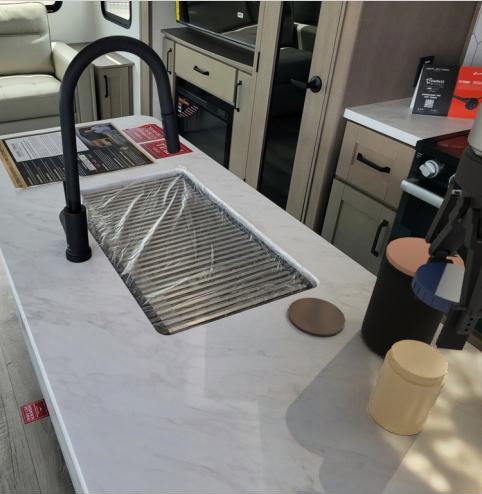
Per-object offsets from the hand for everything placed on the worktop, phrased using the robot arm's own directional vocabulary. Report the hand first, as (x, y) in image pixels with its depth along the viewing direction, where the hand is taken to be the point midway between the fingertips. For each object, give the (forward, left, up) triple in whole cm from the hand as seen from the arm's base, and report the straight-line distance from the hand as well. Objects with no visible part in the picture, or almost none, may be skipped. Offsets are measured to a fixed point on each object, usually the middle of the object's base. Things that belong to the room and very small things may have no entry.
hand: (436, 321), depth 60 cm
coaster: (+8, -20, -18) cm, 28 cm away
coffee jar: (-4, -15, -18) cm, 24 cm away
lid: (0, 0, +6) cm, 6 cm away
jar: (0, 0, -18) cm, 18 cm away
